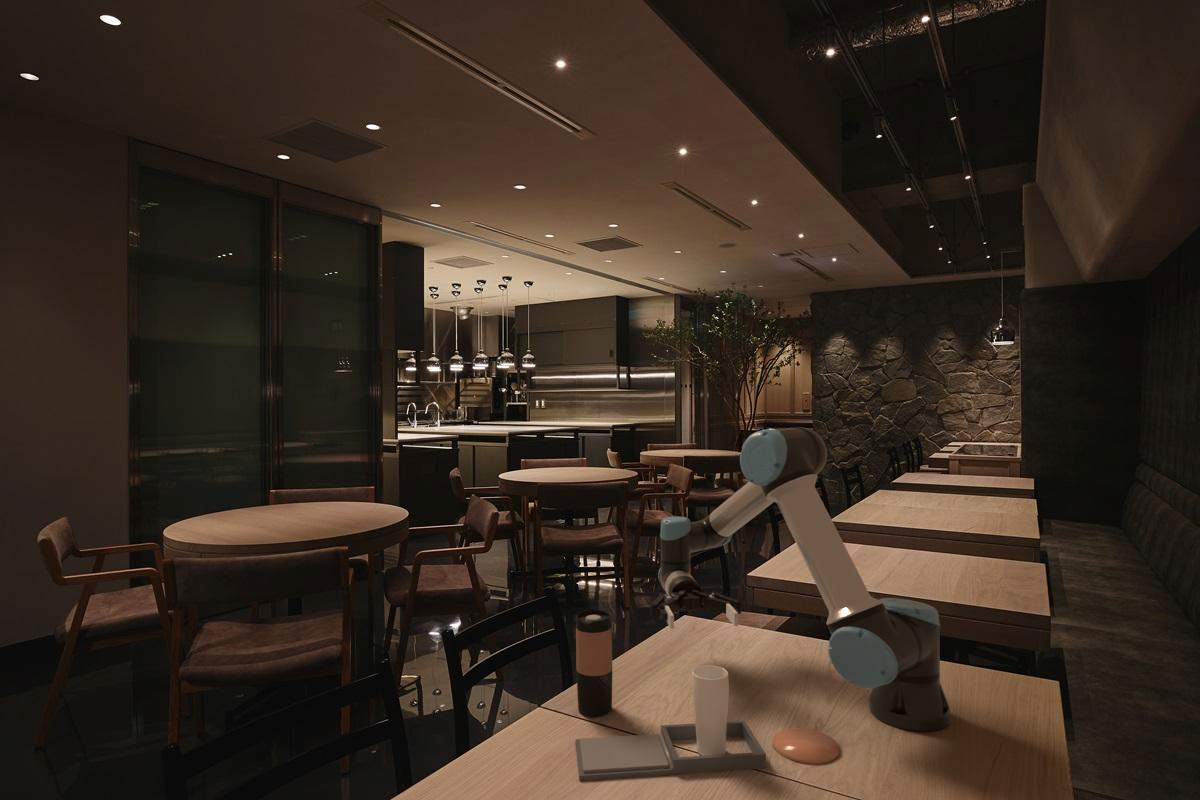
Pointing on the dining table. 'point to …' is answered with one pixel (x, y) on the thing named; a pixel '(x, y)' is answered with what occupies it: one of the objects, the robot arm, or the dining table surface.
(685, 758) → the open case
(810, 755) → the coaster
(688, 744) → the dining table surface
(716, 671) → the drinking glass
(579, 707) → the travel mug
